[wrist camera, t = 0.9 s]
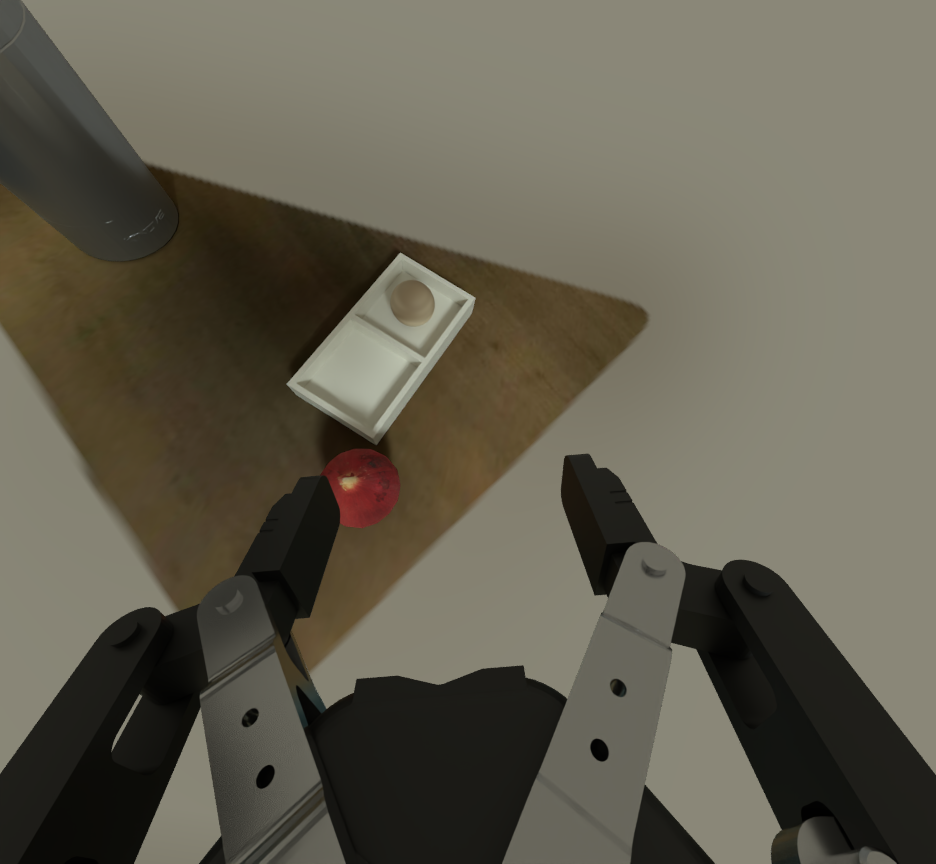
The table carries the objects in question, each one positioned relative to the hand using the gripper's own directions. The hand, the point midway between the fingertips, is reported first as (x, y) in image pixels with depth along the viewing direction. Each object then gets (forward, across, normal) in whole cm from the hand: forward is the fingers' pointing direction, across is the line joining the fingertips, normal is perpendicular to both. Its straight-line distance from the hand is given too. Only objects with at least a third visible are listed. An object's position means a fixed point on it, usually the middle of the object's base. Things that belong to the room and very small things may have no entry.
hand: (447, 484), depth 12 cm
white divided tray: (+24, +6, +4) cm, 25 cm away
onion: (+13, +8, +13) cm, 20 cm away
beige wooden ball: (+26, +4, +2) cm, 26 cm away
